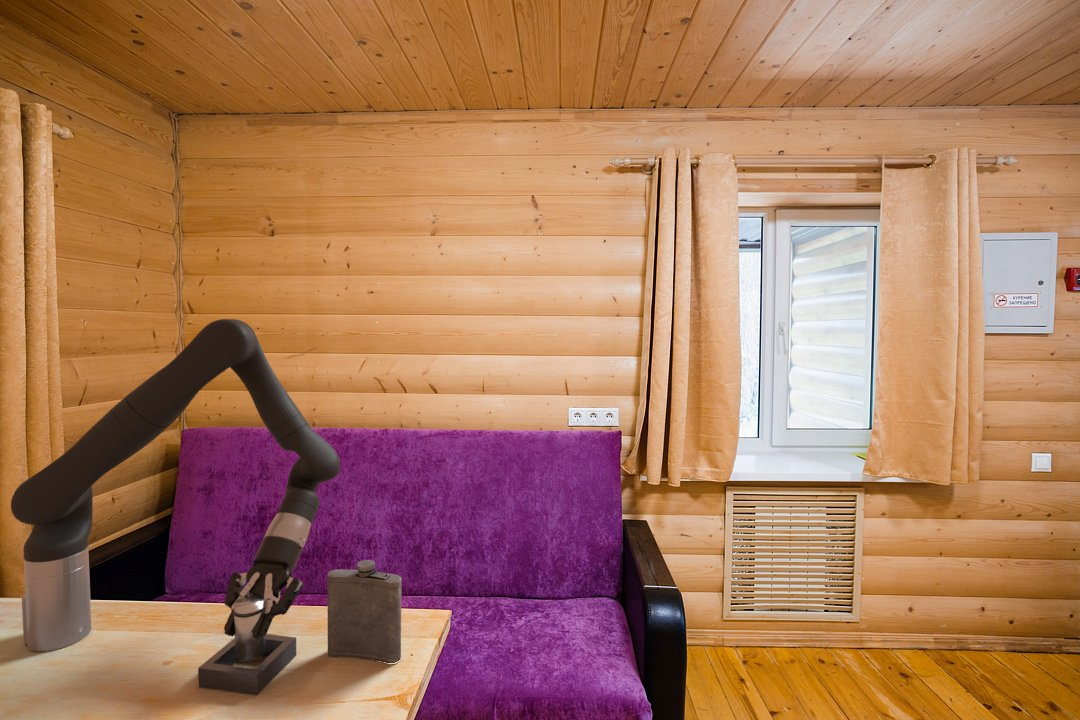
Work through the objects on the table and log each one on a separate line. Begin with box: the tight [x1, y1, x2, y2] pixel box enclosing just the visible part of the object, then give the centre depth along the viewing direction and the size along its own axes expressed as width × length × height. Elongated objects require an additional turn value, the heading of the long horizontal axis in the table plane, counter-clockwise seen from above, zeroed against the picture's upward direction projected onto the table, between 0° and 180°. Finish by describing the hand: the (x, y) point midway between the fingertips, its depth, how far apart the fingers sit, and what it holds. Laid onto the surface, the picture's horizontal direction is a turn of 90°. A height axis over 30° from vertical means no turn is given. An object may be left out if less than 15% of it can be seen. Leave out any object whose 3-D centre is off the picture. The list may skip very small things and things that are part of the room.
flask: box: [327, 559, 403, 663], centre depth 101 cm, size 4×14×18 cm, turn 82°
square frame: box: [197, 633, 297, 696], centre depth 96 cm, size 11×11×4 cm
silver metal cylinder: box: [233, 594, 266, 662], centre depth 96 cm, size 5×5×10 cm
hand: (242, 636), depth 94 cm, fingers closed on silver metal cylinder, 4 cm apart
